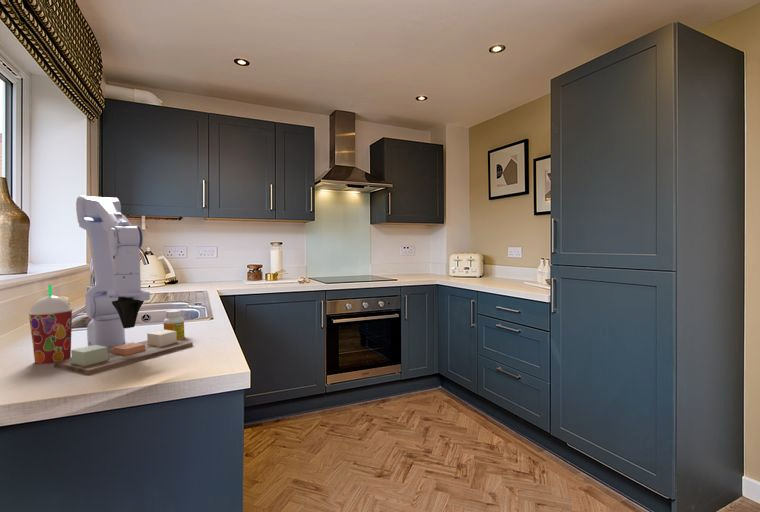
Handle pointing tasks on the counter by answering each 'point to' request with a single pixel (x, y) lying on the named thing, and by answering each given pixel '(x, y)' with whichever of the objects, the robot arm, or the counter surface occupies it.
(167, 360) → the counter surface
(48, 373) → the counter surface
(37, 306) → the smoothie
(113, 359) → the brown rectangular tray
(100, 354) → the key sage
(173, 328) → the supplement bottle
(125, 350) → the key terracotta
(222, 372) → the counter surface
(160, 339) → the key cream
